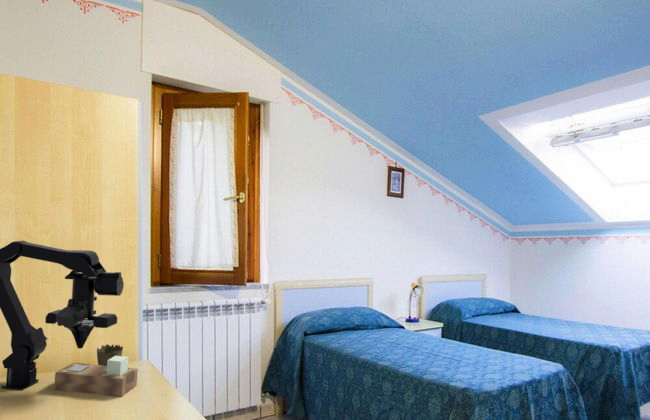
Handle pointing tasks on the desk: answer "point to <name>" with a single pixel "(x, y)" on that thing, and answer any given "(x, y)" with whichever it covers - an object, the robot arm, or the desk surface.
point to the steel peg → (77, 368)
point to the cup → (108, 353)
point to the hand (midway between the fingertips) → (80, 348)
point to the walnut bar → (95, 380)
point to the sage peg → (117, 365)
